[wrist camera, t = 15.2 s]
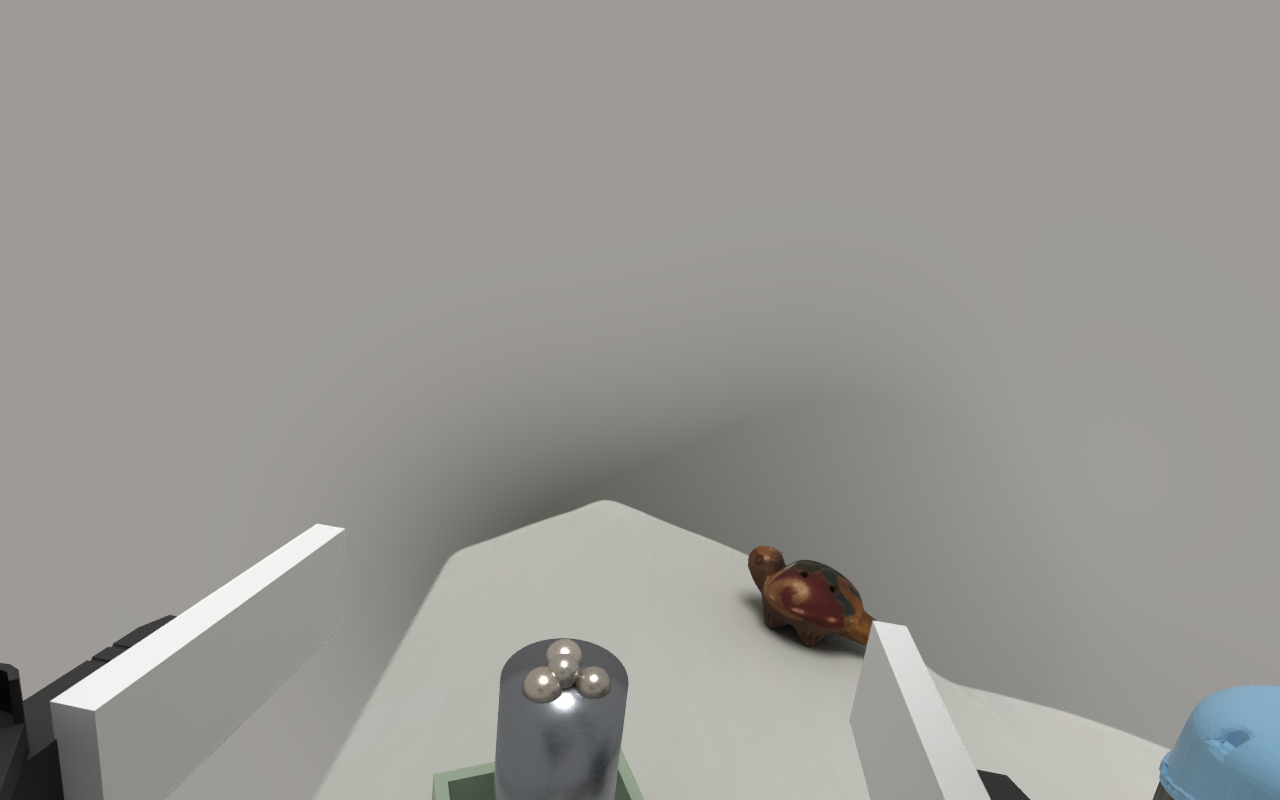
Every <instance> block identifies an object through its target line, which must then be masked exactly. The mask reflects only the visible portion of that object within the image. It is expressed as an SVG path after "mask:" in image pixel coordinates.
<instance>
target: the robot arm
mask: <svg viewBox="0 0 1280 800" xmlns="http://www.w3.org/2000/svg"><path fill="white" fill-rule="evenodd" d="M344 622H345V529H344V528H338V527H333V526H327V525H321V524H316V525H314V526H313V527H312V528H310V529H308V530H307V531H306V532H304V533H303V534H301V535H299V536H298V537H296V538H295V539H293V540H292V541H290V542H289V543H287V544H286V545H285V546H283V547H281V548H280V549H279V550H277V551H275V552H274V553H272V554H271V555H269V556H268V557H266V558H265V559H263V560H262V561H260V562H259V563H257V564H256V565H254V566H253V567H251V568H250V569H248V570H247V571H245V572H244V573H242V574H241V575H239V576H238V577H236V578H235V579H233V580H232V581H230V582H229V583H227V584H226V585H224V586H223V587H221V588H220V589H218V590H217V591H215V592H214V593H212V594H211V595H209V596H208V597H206V598H205V599H203V600H202V601H200V602H199V603H197V604H196V605H194V606H193V607H191V608H190V609H188V610H187V611H185V612H184V613H182V614H181V615H179V616H178V617H177V616H171V615H169V616H166V617H164V618H161V619H159V620H156V621H154V622H151V623H149V624H146V625H144V626H141V627H139V628H137V629H136V630H134V631H132V632H131V633H129V634H128V635H126V636H125V637H123V638H121V639H120V640H118V641H117V642H115V643H113V646H112V647H107V648H106V649H104V650H103V651H101V652H99V653H98V654H96V655H95V656H93V657H92V660H91V661H85V662H84V663H82V664H81V665H79V666H78V667H76V668H74V669H73V670H71V671H70V672H68V673H67V674H65V675H63V676H62V677H60V678H59V679H57V680H56V681H54V682H52V683H51V684H49V685H48V686H46V687H45V688H43V689H42V690H40V691H38V692H37V693H35V694H34V695H33V696H31V697H29V698H27V699H26V700H24V701H23V699H22V692H21V684H20V677H19V670H18V669H16V668H15V667H13V666H12V665H10V664H3V663H0V800H165V799H166V798H167V797H168V796H169V795H170V794H171V793H172V792H173V791H174V790H175V789H176V788H177V787H178V786H180V785H181V783H183V782H184V781H185V780H186V779H187V778H188V776H190V775H191V774H192V773H193V772H194V771H195V770H196V769H197V768H198V767H199V766H200V765H201V764H202V763H203V762H204V761H205V760H206V759H207V758H208V757H209V756H210V755H211V754H212V753H213V752H214V751H215V750H216V749H217V748H218V747H219V746H220V745H221V744H222V743H223V742H225V741H226V740H227V739H228V738H229V736H231V735H232V734H233V732H235V731H236V730H237V729H238V728H239V727H240V726H241V725H242V724H243V723H244V722H245V721H246V720H247V719H248V718H249V717H250V716H251V715H252V714H253V713H254V712H255V711H256V710H257V709H258V708H259V707H260V706H261V705H262V704H263V703H264V702H265V701H266V700H267V699H269V698H270V697H271V695H273V694H274V693H275V692H276V691H277V690H278V689H279V688H280V687H281V686H282V685H283V684H284V683H285V682H286V681H287V680H288V679H289V678H290V677H291V676H292V675H293V674H294V673H295V672H296V671H297V670H298V669H299V668H300V667H301V666H302V665H303V664H304V663H305V662H306V661H307V660H308V659H309V658H310V657H312V656H313V655H314V654H315V652H317V651H318V650H319V649H320V648H321V647H322V646H323V645H324V644H325V642H327V641H328V640H329V639H330V638H331V637H332V636H333V635H334V634H335V633H336V632H337V631H338V630H339V629H340V628H341V627H342V626H343V625H344V624H345V623H344ZM850 723H851V727H852V731H853V735H854V738H855V742H856V746H857V750H858V753H859V757H860V761H861V764H862V768H863V772H864V776H865V779H866V783H867V787H868V791H869V794H870V798H871V800H1030V799H1029V798H1028V797H1027V796H1026V795H1025V794H1024V793H1023V792H1022V791H1021V790H1020V789H1019V788H1018V787H1017V786H1016V785H1015V784H1014V782H1013V781H1012V780H1011V779H1010V778H1009V777H1008V776H1007V775H1002V774H997V773H992V772H986V771H981V770H976V768H975V766H974V764H973V762H972V760H971V758H970V756H969V754H968V752H967V750H966V748H965V746H964V744H963V742H962V740H961V738H960V735H959V733H958V731H957V729H956V727H955V725H954V723H953V721H952V719H951V717H950V715H949V713H948V711H947V709H946V707H945V705H944V703H943V701H942V699H941V697H940V694H939V692H938V690H937V688H936V686H935V684H934V682H933V680H932V678H931V676H930V674H929V672H928V670H927V668H926V666H925V664H924V662H923V660H922V658H921V656H920V654H919V652H918V649H917V647H916V645H915V643H914V641H913V639H912V637H911V635H910V633H909V631H908V629H907V627H906V626H901V625H895V624H890V623H884V622H878V621H872V626H871V630H870V634H869V639H868V643H867V647H866V651H865V656H864V660H863V664H862V669H861V673H860V677H859V682H858V686H857V690H856V694H855V699H854V703H853V707H852V712H851V716H850ZM1159 769H1160V777H1159V778H1160V782H1159V785H1158V787H1157V790H1156V792H1155V795H1154V798H1153V800H1280V686H1270V685H1247V686H1238V687H1232V688H1227V689H1224V690H1220V691H1217V692H1215V693H1213V694H1210V695H1209V696H1207V697H1206V698H1204V699H1203V700H1202V701H1200V702H1199V703H1198V704H1197V705H1196V706H1195V708H1194V709H1193V711H1192V712H1191V714H1190V716H1189V718H1188V720H1187V722H1186V724H1185V726H1184V728H1183V730H1182V732H1181V734H1180V736H1179V738H1178V740H1177V742H1176V744H1175V746H1174V748H1173V750H1171V751H1170V752H1168V753H1167V754H1166V755H1165V757H1164V758H1163V760H1162V762H1161V764H1160V768H1159Z"/></svg>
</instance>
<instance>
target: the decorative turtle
mask: <svg viewBox="0 0 1280 800" xmlns="http://www.w3.org/2000/svg"><path fill="white" fill-rule="evenodd" d="M748 567H749V569H750V572H751V575H752V578H753V580H754V582H755V584H756V585H757V587H758V589H759V590H760V592H761V594H762V601H763V608H764V615H765V620H766V623H767V625H768V626H769V627H770V628H772V629H777V628H780V627H783V626H785V625H788V624H790V625H792V626H793V627H794V628H795V630H796V631H797V633H798V635H799V637H800V639H801V640H802V642H803V643H804V644H805V645H806V646H810V647H811V646H815V645H816V644H817V643H819V642H820V641H821V640H822V639H823V638H824V637H825V636H827V635H829V634H831V633H836V634H839V635H841V636H844V637H846V638H849V639H851V640H853V641H856V642H858V643H861V644H863V645H867V643H868V639H869V634H870V630H871V626H872V621H877V620H875V619H874V618H873V617H871V616H870V615H869V614H867V613H866V612H865V611H864V608H863V604H862V600H861V597H860V595H859V593H858V591H857V590H856V588H855V587H854V586H853V585H852V583H851V582H850V581H849V580H848V579H846V578H845V577H844V576H843V575H842V574H840V573H839V572H837V571H836V570H834V569H833V568H831V567H829V566H827V565H825V564H822V563H819V562H815V561H811V560H799V561H796V562H794V563H791V564H789V565H785V563H784V559H783V556H782V554H781V553H780V552H779V551H778V550H777V549H775V548H773V547H769V546H758V547H756V548H755V549H754V550H753V551H752V552H751V553H750V555H749V559H748Z"/></svg>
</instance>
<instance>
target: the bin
mask: <svg viewBox="0 0 1280 800" xmlns="http://www.w3.org/2000/svg"><path fill="white" fill-rule="evenodd" d="M494 773H495V762H493V763H488V764H483V765H478V766H473V767H468V768H463V769H458V770H453V771H447V772H442V773H437V774H434V775H433V792H432V800H493V788H494ZM614 800H644V798H643V796H642V794H641V792H640V790H639V787H638V785H637V783H636V781H635V779H634V776H633V774H632V772H631V770H630V768H629V765H628V763H627V761H626V759H625V757H624V754H623V752H622V750H621V749H620V757H619V765H618V773H617V782H616V790H615V798H614Z"/></svg>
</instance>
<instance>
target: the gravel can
mask: <svg viewBox="0 0 1280 800" xmlns="http://www.w3.org/2000/svg"><path fill="white" fill-rule="evenodd" d="M627 691H628V676H627V673H626V670H625V668H624V666H623V665H622V663H621V662H620V661H619V660H618V658H616V657H615V656H614V655H613V654H612V653H610V652H609V651H608V650H606V649H604V648H602V647H600V646H598V645H596V644H593V643H590V642H587V641H583V640H577V639H567V638H558V639H549V640H543V641H539V642H536V643H533V644H530V645H528V646H526V647H524V648H522V649H521V650H519V651H517V652H516V653H515V654H514V655H512V657H511V658H510V659H509V660H508V661H507V662H506V664H505V665H504V668H503V670H502V673H501V679H500V694H499V710H498V726H497V741H496V757H495V773H494V788H493V800H614V798H615V790H616V782H617V773H618V765H619V757H620V749H621V740H622V732H623V724H624V716H625V708H626V699H627Z"/></svg>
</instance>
